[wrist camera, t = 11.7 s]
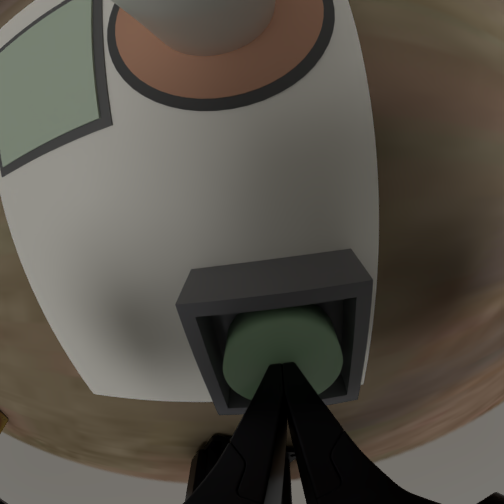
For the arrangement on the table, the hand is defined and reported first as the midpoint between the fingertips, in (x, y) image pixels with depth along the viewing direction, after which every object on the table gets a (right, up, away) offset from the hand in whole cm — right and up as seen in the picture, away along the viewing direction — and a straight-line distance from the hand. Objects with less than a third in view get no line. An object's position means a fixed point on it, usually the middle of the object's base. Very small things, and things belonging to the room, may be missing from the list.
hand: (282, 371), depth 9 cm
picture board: (-5, +6, +1) cm, 8 cm away
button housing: (0, +1, +2) cm, 2 cm away
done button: (0, +1, +1) cm, 1 cm away
